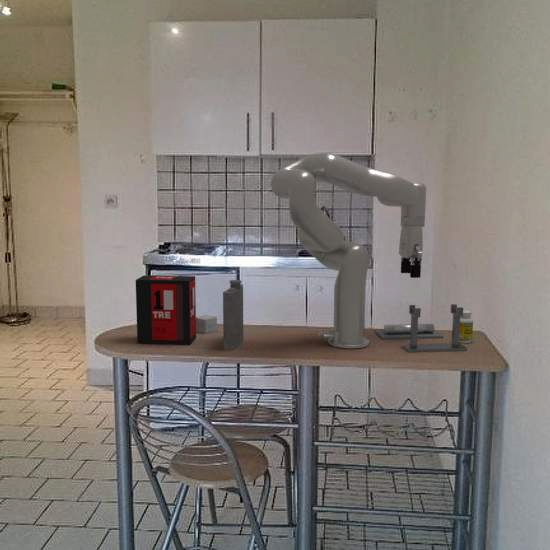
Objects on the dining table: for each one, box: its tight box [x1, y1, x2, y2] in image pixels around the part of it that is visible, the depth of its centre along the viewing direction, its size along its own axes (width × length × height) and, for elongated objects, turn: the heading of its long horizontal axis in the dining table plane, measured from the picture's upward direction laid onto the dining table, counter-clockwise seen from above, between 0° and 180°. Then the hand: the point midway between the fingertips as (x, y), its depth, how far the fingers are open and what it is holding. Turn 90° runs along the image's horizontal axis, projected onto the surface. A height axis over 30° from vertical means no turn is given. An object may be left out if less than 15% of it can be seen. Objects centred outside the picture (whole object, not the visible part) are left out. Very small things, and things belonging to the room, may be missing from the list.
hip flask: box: [222, 279, 244, 352], centre depth 196 cm, size 16×4×20 cm, turn 170°
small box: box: [196, 314, 218, 335], centre depth 214 cm, size 6×6×5 cm
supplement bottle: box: [459, 309, 474, 344], centre depth 202 cm, size 5×5×10 cm
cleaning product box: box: [135, 275, 197, 346], centre depth 200 cm, size 16×9×20 cm, turn 85°
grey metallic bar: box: [383, 323, 435, 334], centre depth 210 cm, size 16×3×3 cm, turn 96°
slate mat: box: [374, 329, 444, 340], centre depth 210 cm, size 20×9×1 cm, turn 96°
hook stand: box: [401, 303, 468, 353], centre depth 192 cm, size 18×6×13 cm, turn 96°
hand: (410, 275), depth 207 cm, fingers open, 9 cm apart
